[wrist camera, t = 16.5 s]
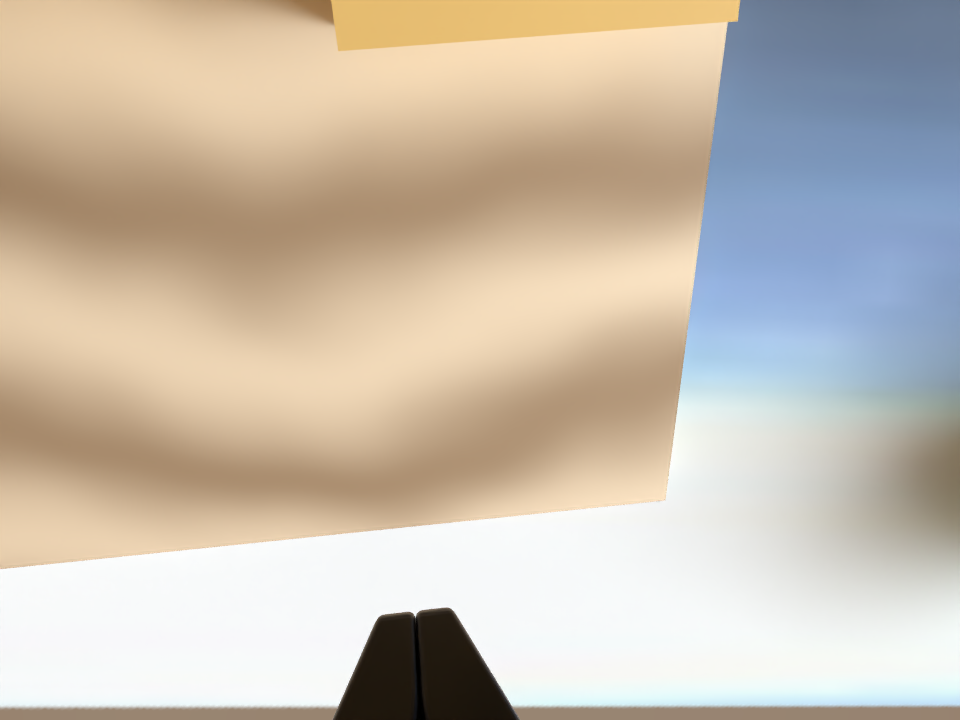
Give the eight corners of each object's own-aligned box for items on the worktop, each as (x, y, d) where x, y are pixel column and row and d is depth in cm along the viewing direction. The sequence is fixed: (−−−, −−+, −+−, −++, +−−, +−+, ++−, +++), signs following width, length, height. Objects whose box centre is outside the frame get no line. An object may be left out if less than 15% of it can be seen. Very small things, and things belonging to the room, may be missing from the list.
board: (-899, -490, 11) (-1007, -524, 10) (766, -462, 13) (793, -487, 12) (-199, 564, 22) (-222, 592, 21) (654, 479, 24) (665, 500, 23)
